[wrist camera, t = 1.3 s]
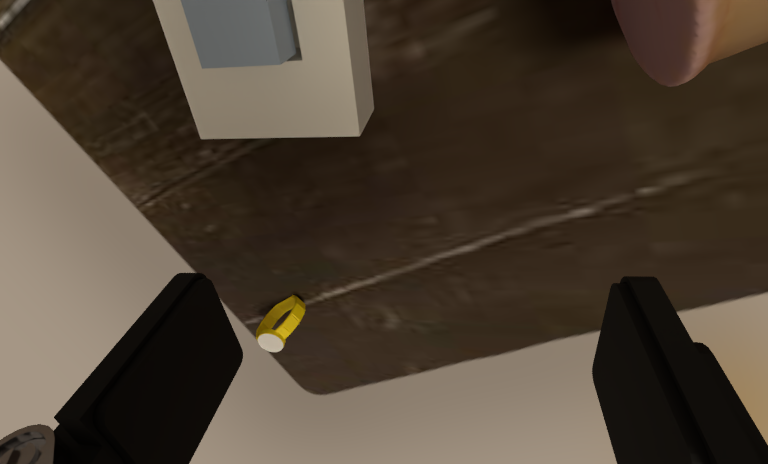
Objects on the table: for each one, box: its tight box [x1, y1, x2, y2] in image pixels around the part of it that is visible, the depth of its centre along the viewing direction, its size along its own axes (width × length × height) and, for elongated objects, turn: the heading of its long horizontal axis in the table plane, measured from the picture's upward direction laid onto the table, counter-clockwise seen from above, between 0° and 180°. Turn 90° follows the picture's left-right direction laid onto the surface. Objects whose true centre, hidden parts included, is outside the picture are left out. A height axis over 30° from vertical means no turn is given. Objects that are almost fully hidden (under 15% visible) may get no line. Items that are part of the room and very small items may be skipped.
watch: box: [256, 295, 305, 352], centre depth 46 cm, size 6×3×6 cm, turn 129°
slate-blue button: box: [181, 0, 296, 69], centre depth 25 cm, size 5×5×3 cm
